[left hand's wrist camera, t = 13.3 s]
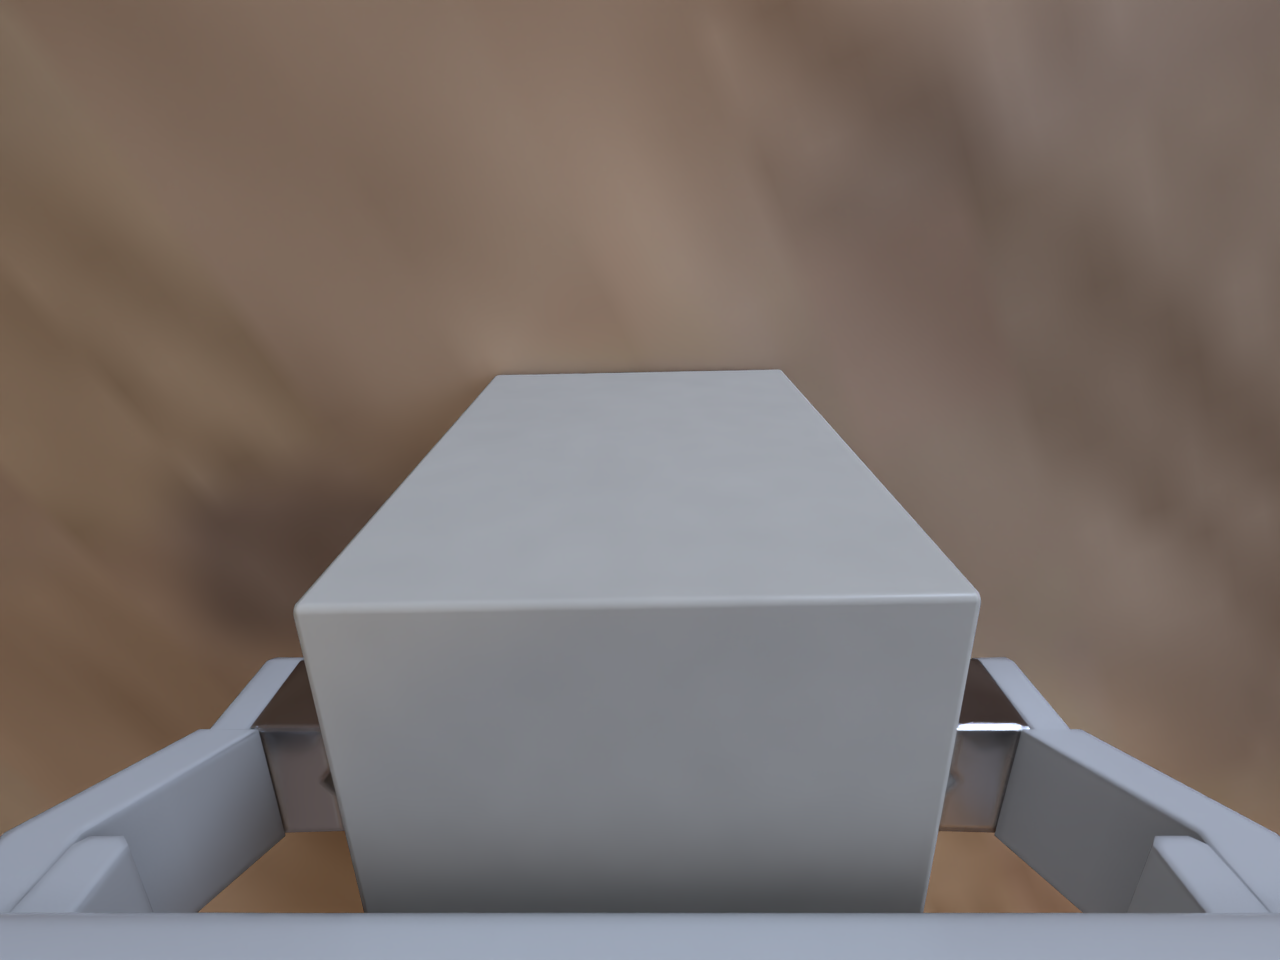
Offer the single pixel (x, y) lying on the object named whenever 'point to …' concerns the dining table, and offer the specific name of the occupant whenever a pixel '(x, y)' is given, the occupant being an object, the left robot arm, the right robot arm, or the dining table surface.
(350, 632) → the bar
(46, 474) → the dining table surface
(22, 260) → the dining table surface
